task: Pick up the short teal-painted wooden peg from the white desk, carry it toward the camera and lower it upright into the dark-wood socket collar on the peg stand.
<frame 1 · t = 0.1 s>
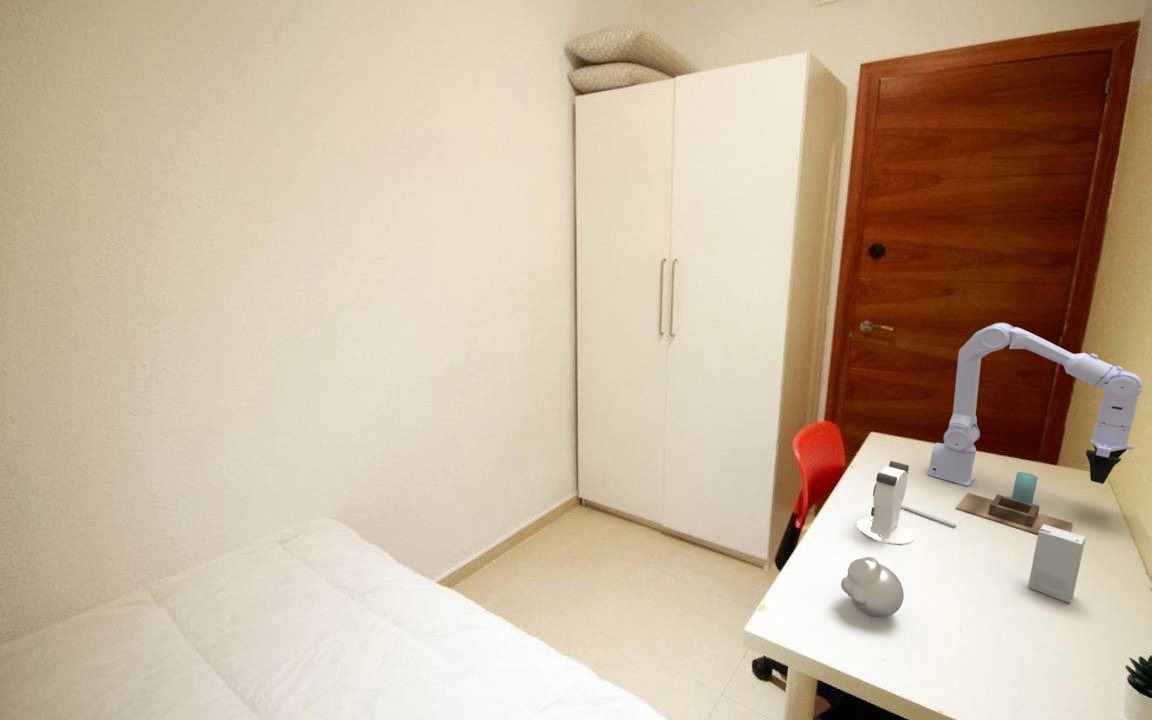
hand: (1099, 477, 121), 10 cm above the table, fingers open, 7 cm apart
light grey rod: (923, 518, 123), on the table
teal peg: (1021, 501, 130), on the table
peg stand: (1012, 516, 122), on the table
panda figurine: (884, 531, 116), on the table
skincare box: (1049, 592, 96), on the table
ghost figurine: (868, 611, 90), on the table
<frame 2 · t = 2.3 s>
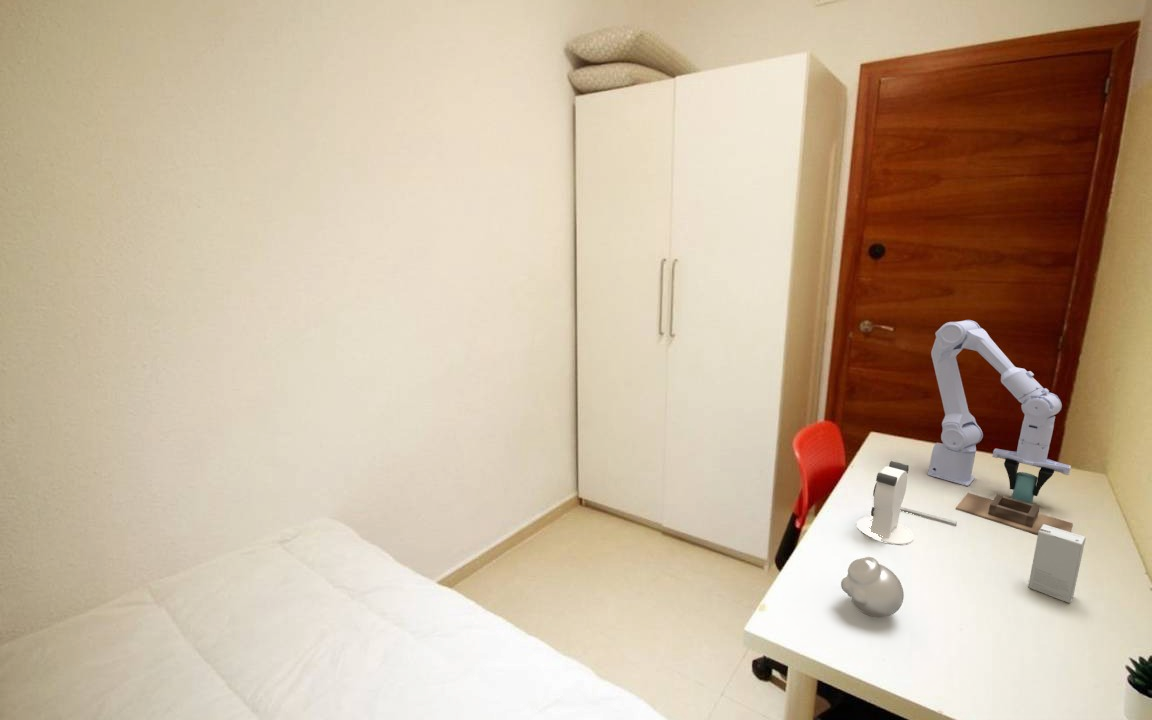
hand: (1023, 491, 130), 3 cm above the table, fingers closed on teal peg, 4 cm apart
teal peg: (1021, 501, 130), on the table, touching gripper
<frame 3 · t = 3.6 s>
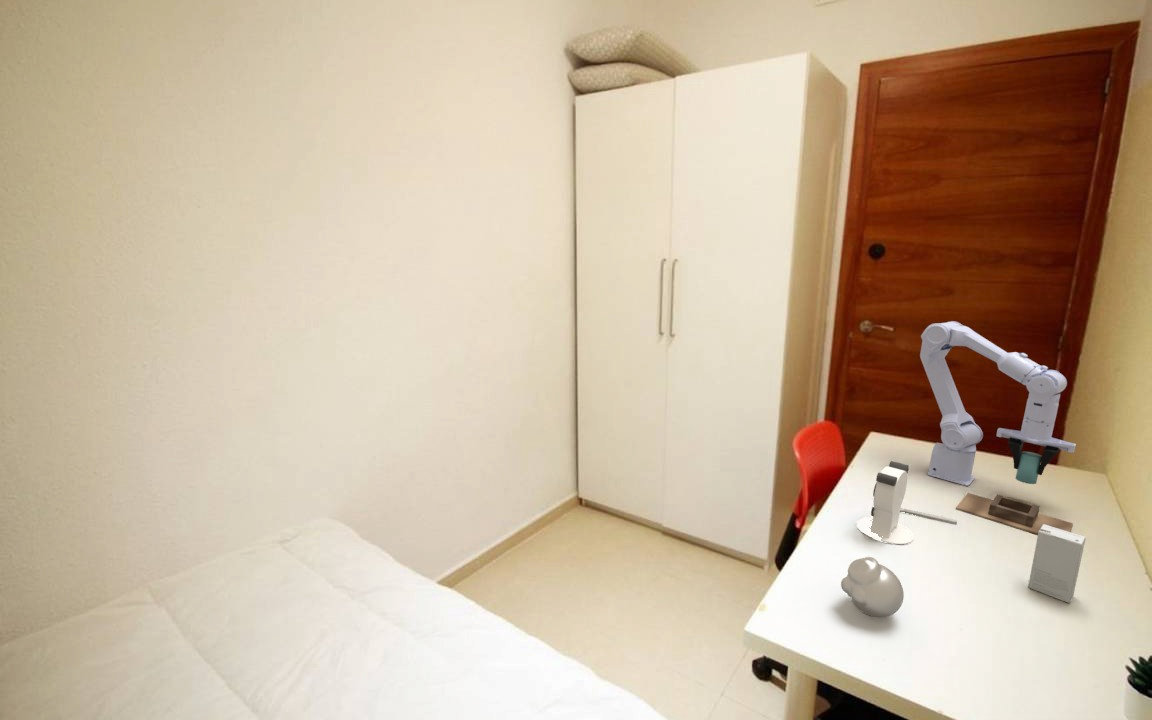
hand: (1027, 470, 128), 8 cm above the table, fingers closed on teal peg, 4 cm apart
teal peg: (1025, 480, 129), point 6 cm above the table, touching gripper
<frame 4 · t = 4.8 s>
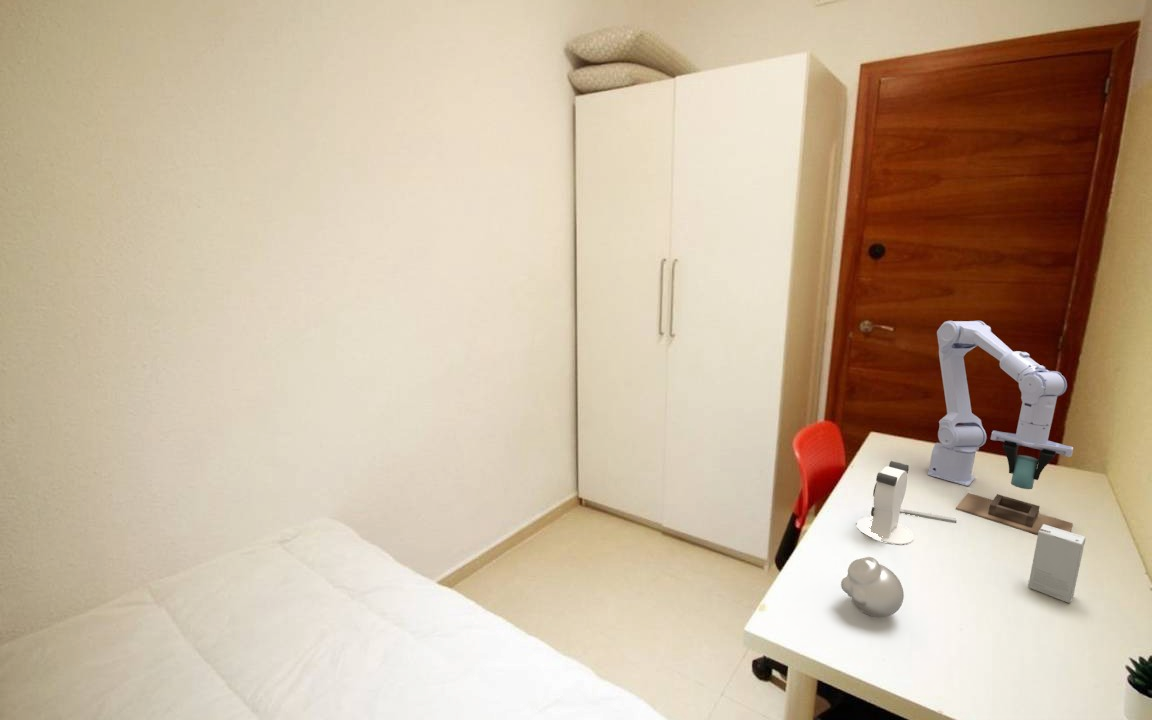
hand: (1023, 475, 123), 9 cm above the table, fingers closed on teal peg, 4 cm apart
teal peg: (1021, 485, 124), point 7 cm above the table, touching gripper
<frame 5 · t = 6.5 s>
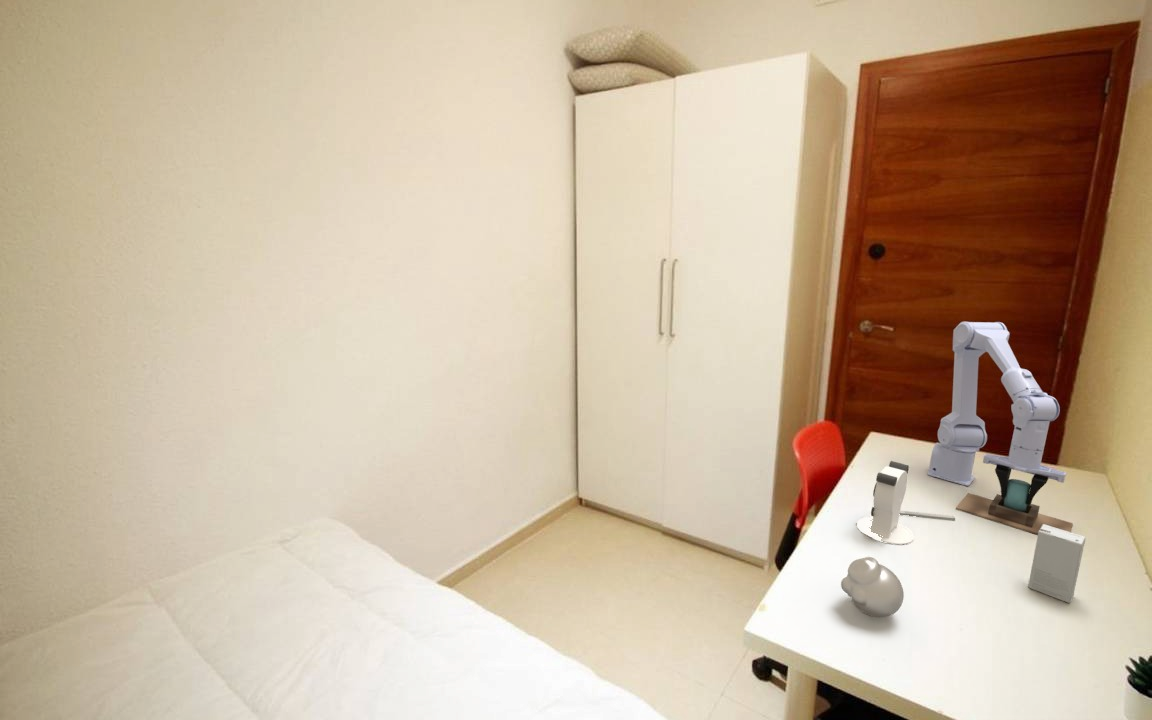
hand: (1016, 499, 121), 4 cm above the table, fingers closed on teal peg, 4 cm apart
teal peg: (1013, 509, 122), point 2 cm above the table, touching gripper
when the fingers open (4 cm above the table, at t = 7.5 s): teal peg stays where it is, resting on peg stand.
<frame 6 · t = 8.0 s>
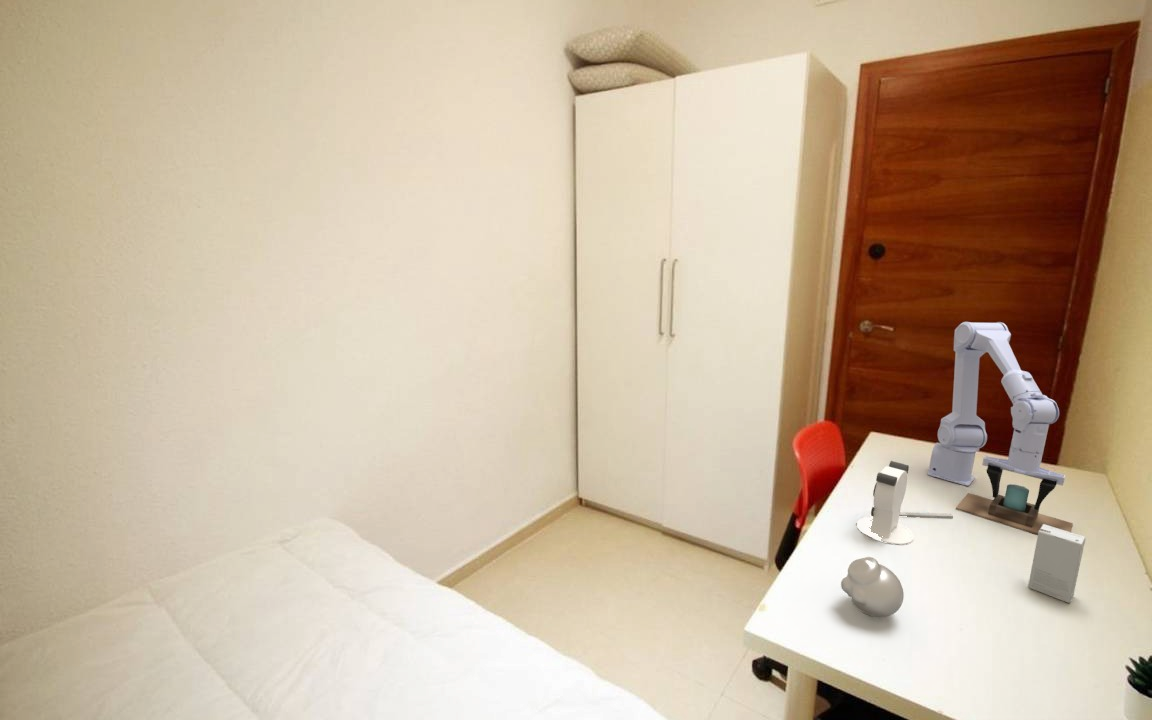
hand: (1015, 502, 122), 4 cm above the table, fingers open, 7 cm apart
teal peg: (1012, 515, 122), resting on peg stand
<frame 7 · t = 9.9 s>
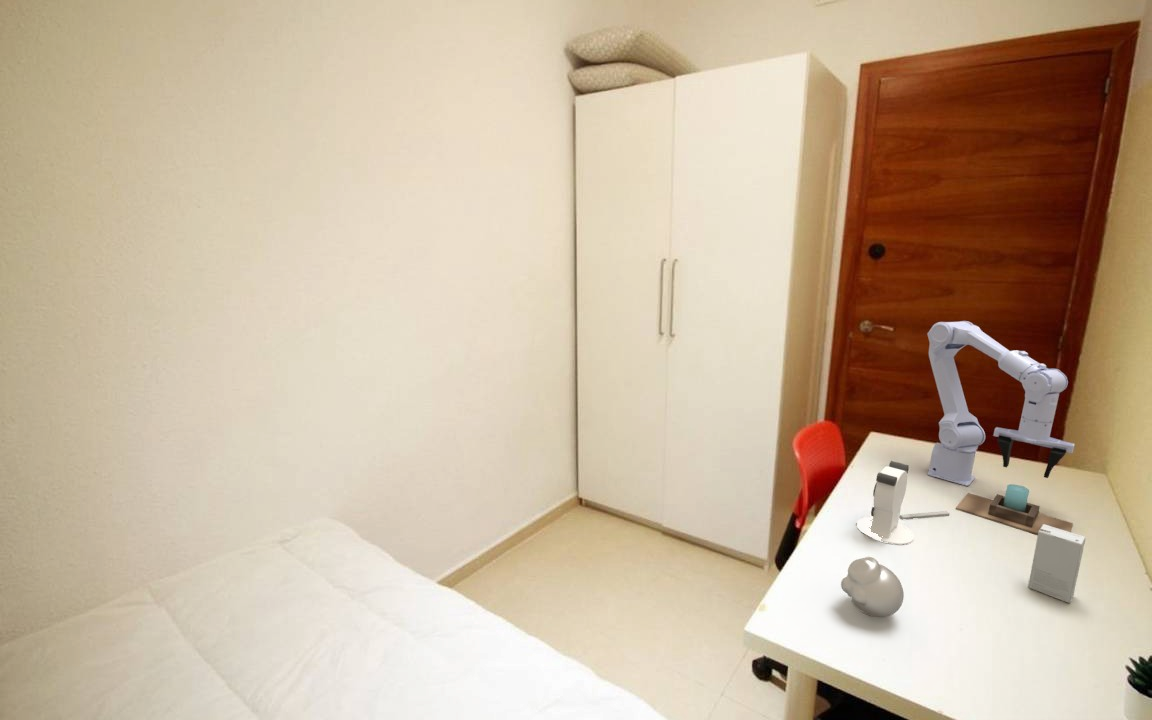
hand: (1025, 471, 126), 9 cm above the table, fingers open, 7 cm apart
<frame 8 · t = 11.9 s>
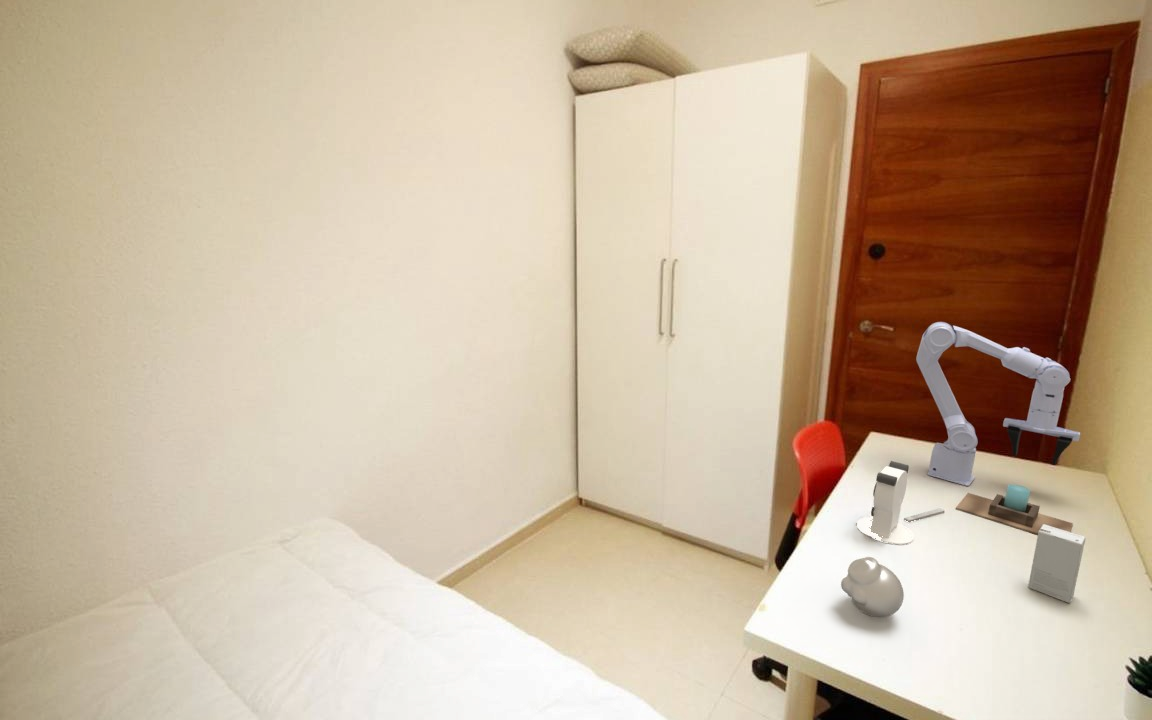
hand: (1033, 459, 133), 9 cm above the table, fingers open, 7 cm apart
at the end: teal peg 0.0 cm off-centre on the peg stand, point 0.4 cm above the peg stand's base; teal peg tilted 1°; the gripper is holding nothing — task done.
